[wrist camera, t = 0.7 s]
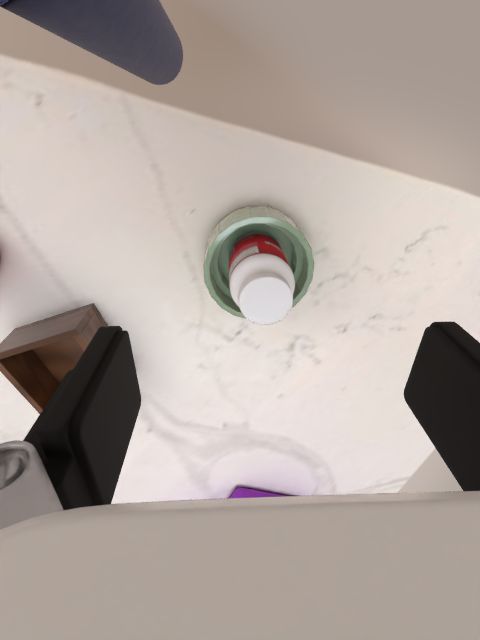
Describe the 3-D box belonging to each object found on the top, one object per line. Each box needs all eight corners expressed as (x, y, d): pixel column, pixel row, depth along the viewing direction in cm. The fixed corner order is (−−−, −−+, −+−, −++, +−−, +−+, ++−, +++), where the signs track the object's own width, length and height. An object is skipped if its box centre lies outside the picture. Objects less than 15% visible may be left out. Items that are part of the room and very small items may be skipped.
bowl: (191, 224, 36) (186, 238, 32) (291, 190, 35) (300, 200, 30) (225, 309, 42) (225, 331, 37) (312, 282, 40) (322, 302, 36)
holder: (14, 328, 42) (-14, 356, 37) (93, 303, 40) (75, 328, 35) (65, 390, 47) (46, 422, 42) (135, 369, 46) (125, 399, 41)
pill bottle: (290, 266, 39) (312, 313, 29) (244, 290, 40) (251, 342, 30) (267, 219, 36) (283, 255, 26) (218, 246, 37) (216, 290, 27)
